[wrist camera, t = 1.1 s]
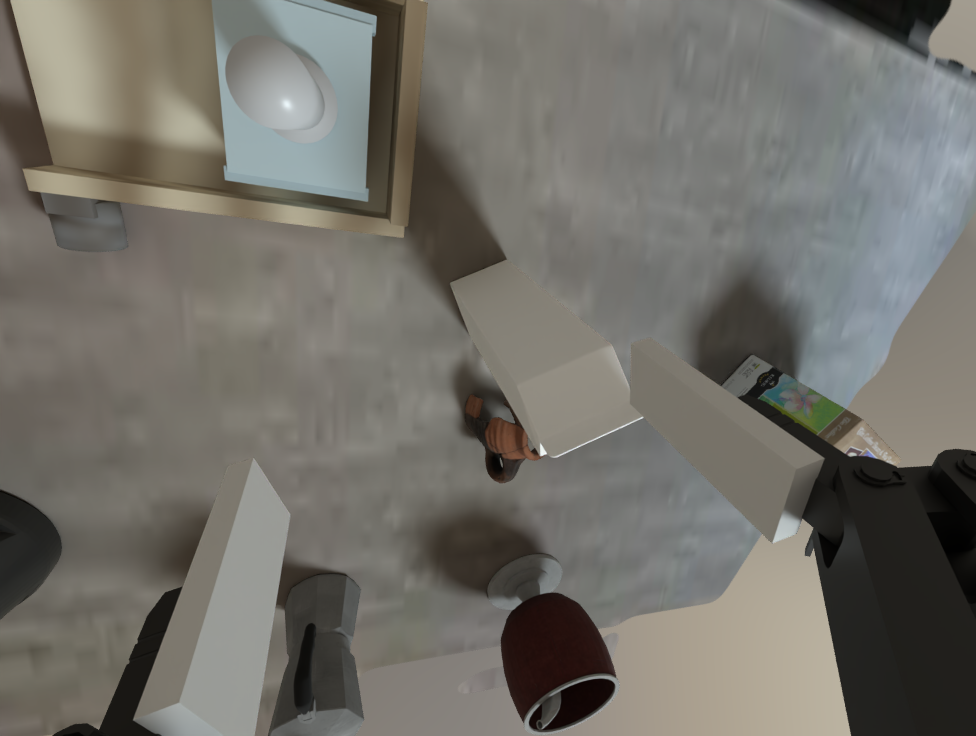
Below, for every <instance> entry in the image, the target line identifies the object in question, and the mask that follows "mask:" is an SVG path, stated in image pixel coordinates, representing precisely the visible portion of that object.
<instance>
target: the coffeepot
mask: <svg viewBox="0 0 976 736" xmlns="http://www.w3.org/2000/svg"><path fill="white" fill-rule="evenodd" d="M360 591H361V589H360V588H359V587H358V585H357V584H356V583H355V582H354V581H353V580H352V579H351V578H349V577H347V576H344V575H340V574H322V575H317V576H313V577H310V578H308V579H305V580H303V581H302V582H300V583H299V584H297V585H296V586H295V587H293V588H291V591H290V593H289V595H288V599H287V602H286V605H285V622H286V642H287V654H288V655H289V662H288V665H287V667H286V670H285V673H284V676H283V679H282V683H281V687H280V691H279V695H278V699H277V702H276V706H275V710H274V714H273V718H272V722H271V726H270V729H269V733H268V736H355V735H356V734H357V732H358V730H359V728H360V726H361V724H362V722H363V721H364V717H363V711H362V703H361V697H360V691H359V685H358V678H357V671H356V665H355V658H354V656H353V655H352V654H351V653H350V645H351V642H352V639H353V634H354V628H355V622H356V616H357V609H358V603H359V597H360Z"/></svg>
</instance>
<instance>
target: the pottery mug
mask: <svg viewBox="0 0 976 736" xmlns="http://www.w3.org/2000/svg"><path fill="white" fill-rule="evenodd" d="M482 404H483V400H482V399H480V398H476V397H475V396H474V395H470V396H469V399H468V401H467V404H466V410H465V412H466V413H465V419H466V423H467V426H468V428H469V429H470V430H471V431H472V432H473V433H474V434H475V435H476V436H477V438H478V439H479V441H480V442H481V443H482V444H483V446H485V450H486V457H485V461H486V468H487V472H488V474H489V475H490V477H491V478H492V479H493V480H494V481H497V482H499V483H506V482H509V481H511V480H512V479H513V478H514V477H515V475H516V473H517V471H518V469H519V466H520V464H521V463H522V462H523V461H524V460H525V458H528V459H529V460H538V459H541V458H542V457H544V456H545V455H546V454H545V455H543V456H540V455H539V454H538V452H537V450H536V449H535V448H534V449H533V450H532V451H530V449H529V447H528V440H527V439H528V435H527V433H526V431H525V430H524V428H523V426H522V425H521V423H520V421H519V419H518V418H517V416H516V414H515V413H514V411H513V409H512V407H511V406H510V404H509V402H508V401H507V399H506V400H505V401H504V405H506V406H507V407H508V408H510V411H511V413H512V415H513V417H514V421H515V424H514V423H510V422H507V421H505V420H503V419H502V418H499V417H498V418H492V419H491V420H490V422H487V421H483V420H481V419H480V418H479V416H480V411H481V407H482ZM500 458H501V460H502V463H503V468H502V466H501V463H500Z"/></svg>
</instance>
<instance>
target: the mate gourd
mask: <svg viewBox="0 0 976 736" xmlns="http://www.w3.org/2000/svg"><path fill="white" fill-rule="evenodd" d="M561 577H562V568H561V566H560V564H559V562H558V561H557V559H555V558H554V557H552V556H549V555H545V554H533V555H528V556H524V557H521V558H518V559H516V560H514V561H512V562H510V563H508V564H507V565H505V566H504V567H503V568H501V569H500V570H499V571H498V572H497V573H496V574H495V575H494V576H493V578H492V579H491V580H490V583H489V585H488V589H487V593H488V597H489V600H490V602H491V603H492V604H493V605H494V606H495V607H497V608H500V609H505V610H513V609H514V610H513V611H512V612H511V613H510V615H509V616H508V618H507V620H506V624H505V627H504V630H503V633H502V637H501V652H502V660H503V667H504V673H505V677H506V681H507V684H508V688H509V691H510V695H511V697H512V699H513V702H514V704H515V706H516V709H517V711H518V713H519V715H520V717H521V719H522V721H523V723H524V727H525V729H526V731H528V732H529V733H531V734H535V735H546V734H552V733H557V732H560V731H563V730H567V729H569V728H572V727H574V726H576V725H578V724H580V723H582V722H584V721H586V720H588V719H590V718H591V717H593V716H594V715H596V714H597V713H599V712H600V711H601V710H603V709H604V708H605V707H606V706H607V705H608V704H609V703H610V702H611V701H612V700H613V699H614V697H615V696H616V695H617V693H618V691H619V686H620V685H619V681H618V679H617V678H616V674H615V670H614V666H613V664H612V661H611V658H610V655H609V652H608V649H607V647H606V645H605V643H604V641H603V639H602V637H601V635H600V633H599V631H598V629H597V627H596V626H595V624H594V623H593V621H592V620H591V618H590V617H589V616H588V614H587V613H586V612H585V610H584V609H583V608H582V607H581V606H580V604H578V603H577V602H575V601H573V600H572V599H570V598H568V597H566V596H564V595H562V594H559V593H551V592H552V591H553V590H554V589H555V588H556V587H557V585H558V584H559V582H560V580H561Z"/></svg>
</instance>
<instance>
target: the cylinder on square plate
mask: <svg viewBox="0 0 976 736" xmlns="http://www.w3.org/2000/svg"><path fill="white" fill-rule="evenodd" d="M212 11H213V21H214V32H215V43H216V54H217V64H218V75H219V86H220V97H221V107H222V118H223V129H224V140H225V151H226V161H227V165H225V166H224V175H225V180H228V181H234V182H241V183H247V184H254V185H261V186H267V187H274V188H281V189H287V190H294V191H301V192H307V193H314V194H320V195H327V196H334V197H340V198H347V199H354V200H360V201H367V202H368V193H369V188H368V187H366V168H367V145H368V121H369V98H370V75H371V52H372V36H374V37H375V35H376V20H377V16H375V15H371V14H368V13H365V12H361V11H358V10H354V9H351V8H347V7H344V6H341V5H337V4H334V3H330V2H327V1H324V0H212Z"/></svg>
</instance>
